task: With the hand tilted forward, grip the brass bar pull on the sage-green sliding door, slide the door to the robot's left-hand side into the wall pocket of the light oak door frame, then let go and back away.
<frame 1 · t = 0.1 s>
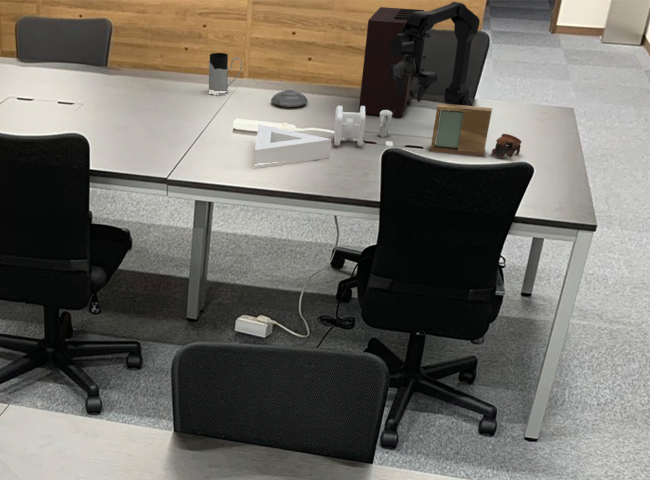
hand: (409, 98, 350), 15 cm above the table, tool pointing down, fingers open, 9 cm apart
door frame: (460, 152, 348), on the table
brown miniature stool: (505, 156, 345), on the table
triangle block: (274, 152, 348), on the table
door: (452, 126, 346), point 8 cm above the table, slide at 0.0 cm
flying saucer: (289, 104, 397), on the table
radio: (387, 108, 393), on the table
milkshake: (384, 136, 363), on the table
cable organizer: (347, 143, 357), on the table
glass holder: (224, 93, 411), on the table
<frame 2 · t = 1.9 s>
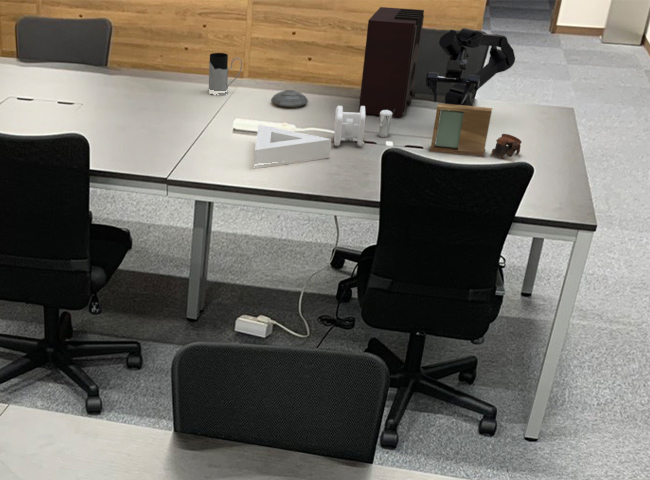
hand: (447, 102, 352), 13 cm above the table, tool tilted 45°, fingers open, 9 cm apart
nothing on the table moved.
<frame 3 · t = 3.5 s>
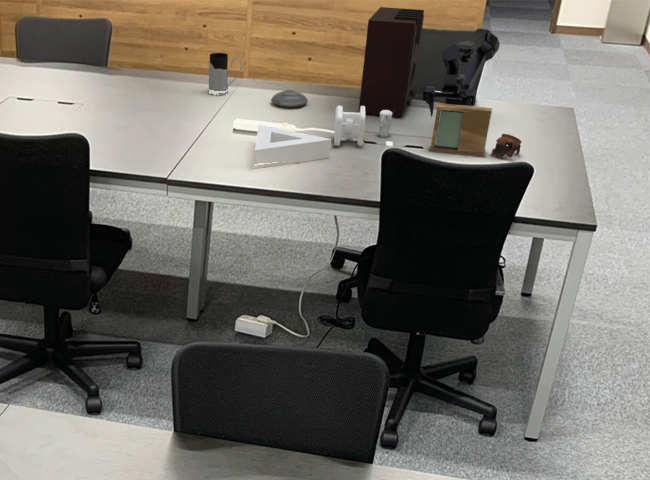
hand: (444, 117, 350), 9 cm above the table, tool tilted 45°, fingers open, 9 cm apart
nothing on the table moved.
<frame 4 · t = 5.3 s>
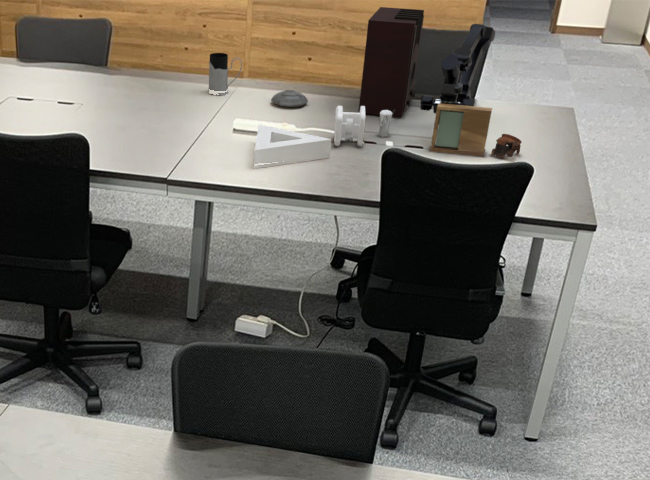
hand: (442, 126, 349), 7 cm above the table, tool tilted 45°, fingers closed on door, 2 cm apart
door: (452, 126, 346), point 8 cm above the table, slide at 0.0 cm, touching gripper
everything else where it was.
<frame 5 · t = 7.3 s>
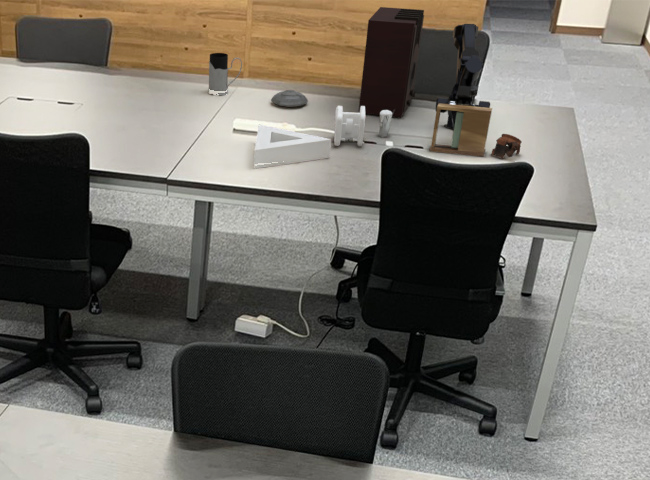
hand: (457, 128, 347), 7 cm above the table, tool tilted 45°, fingers closed
door: (467, 128, 345), point 8 cm above the table, slide at 5.5 cm
everything else where it was.
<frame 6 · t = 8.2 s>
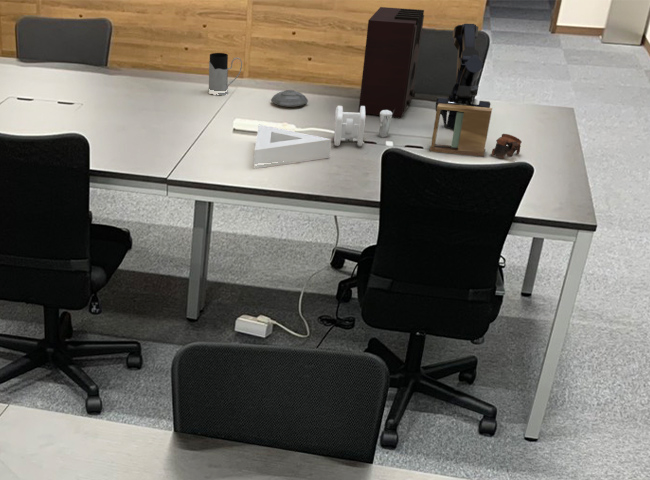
hand: (457, 128, 347), 7 cm above the table, tool tilted 45°, fingers open, 9 cm apart
nothing on the table moved.
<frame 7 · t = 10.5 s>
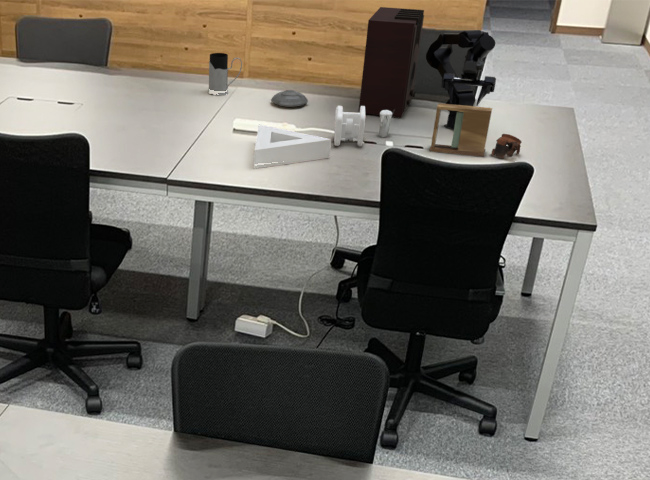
hand: (463, 104, 350), 13 cm above the table, tool tilted 45°, fingers open, 9 cm apart
nothing on the table moved.
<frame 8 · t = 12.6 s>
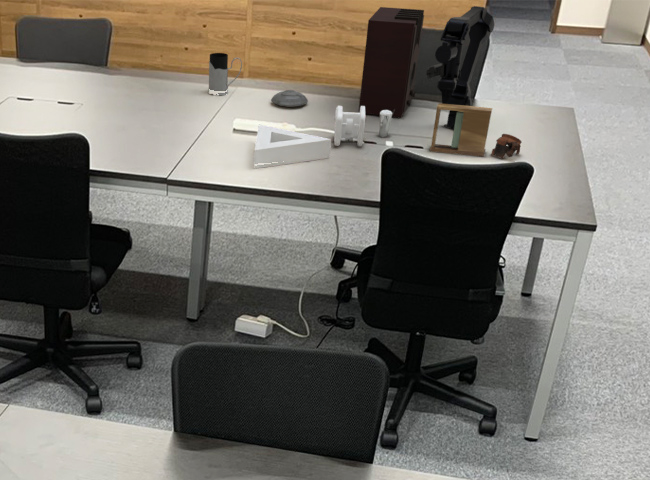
hand: (445, 103, 355), 12 cm above the table, tool pointing down, fingers open, 9 cm apart
nothing on the table moved.
at the end: door slide at 5.5 cm; the gripper is holding nothing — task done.
